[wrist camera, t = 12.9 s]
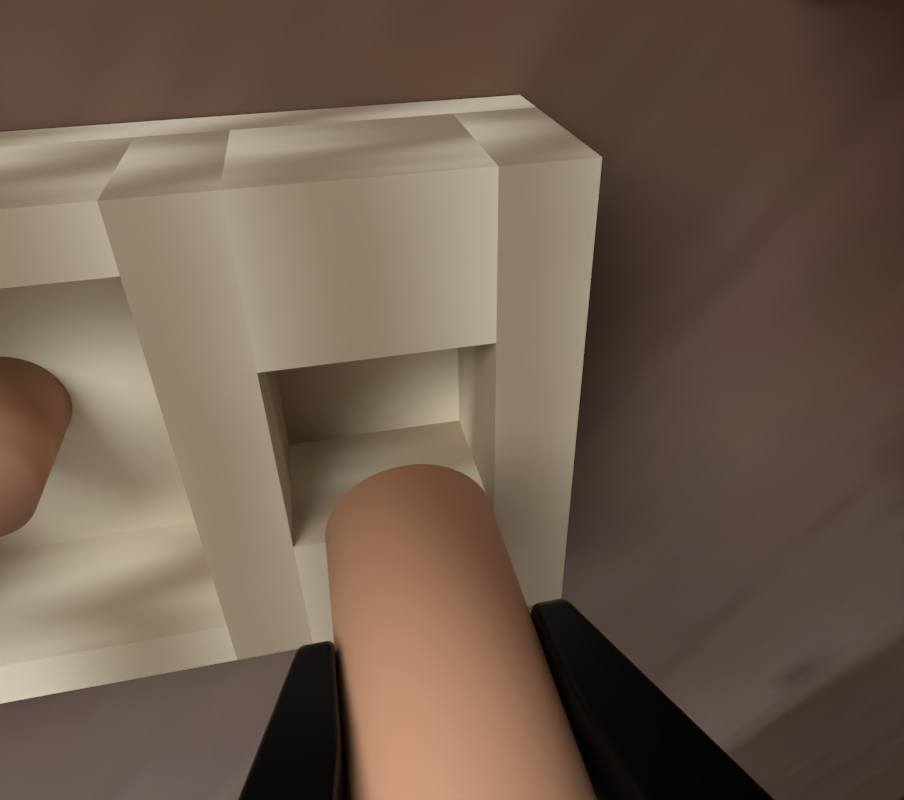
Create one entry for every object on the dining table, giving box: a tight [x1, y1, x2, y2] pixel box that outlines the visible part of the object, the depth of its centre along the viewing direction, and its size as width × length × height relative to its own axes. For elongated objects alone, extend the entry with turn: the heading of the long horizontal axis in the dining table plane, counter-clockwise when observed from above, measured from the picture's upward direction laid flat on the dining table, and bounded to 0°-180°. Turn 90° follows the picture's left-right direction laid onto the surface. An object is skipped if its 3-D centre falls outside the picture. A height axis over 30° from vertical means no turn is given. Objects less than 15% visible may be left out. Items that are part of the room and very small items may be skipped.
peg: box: [325, 464, 597, 800], centre depth 8 cm, size 2×2×7 cm
